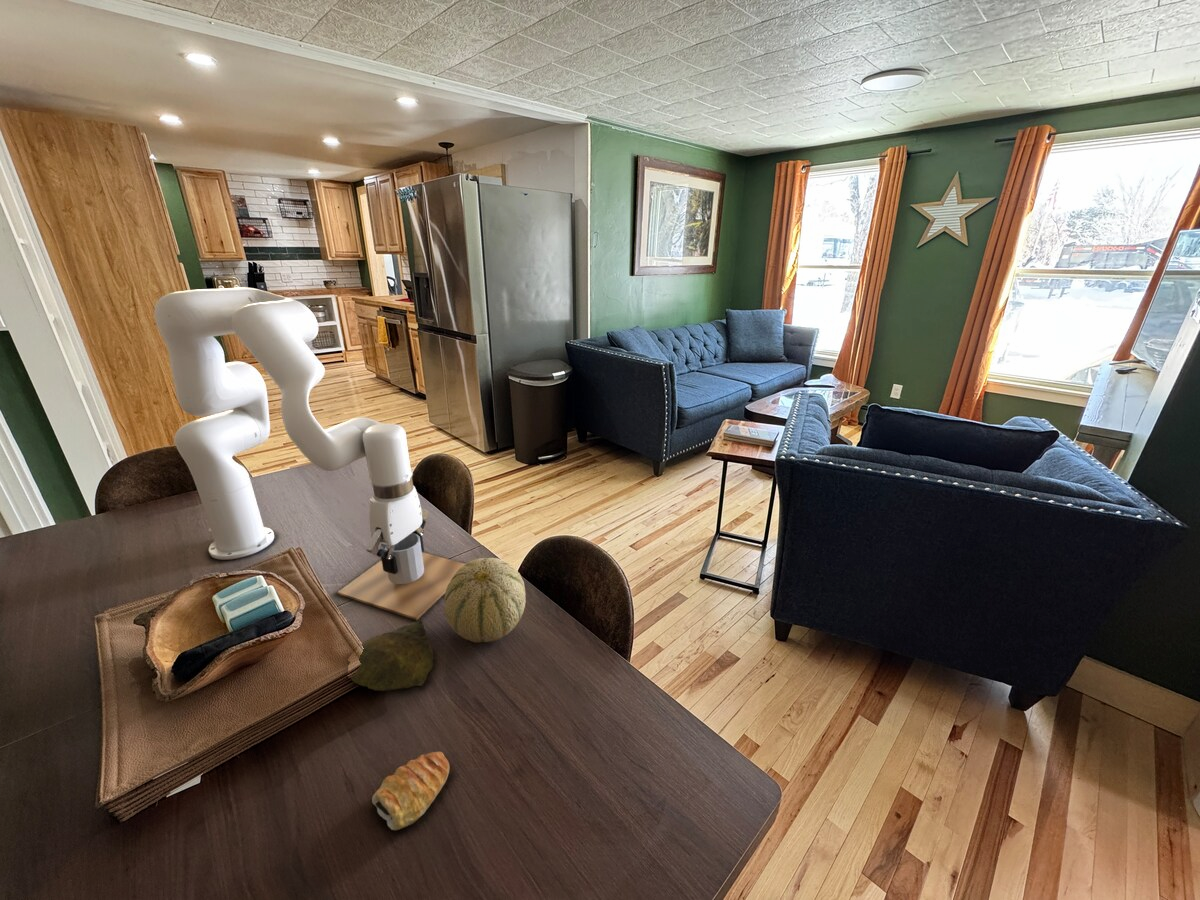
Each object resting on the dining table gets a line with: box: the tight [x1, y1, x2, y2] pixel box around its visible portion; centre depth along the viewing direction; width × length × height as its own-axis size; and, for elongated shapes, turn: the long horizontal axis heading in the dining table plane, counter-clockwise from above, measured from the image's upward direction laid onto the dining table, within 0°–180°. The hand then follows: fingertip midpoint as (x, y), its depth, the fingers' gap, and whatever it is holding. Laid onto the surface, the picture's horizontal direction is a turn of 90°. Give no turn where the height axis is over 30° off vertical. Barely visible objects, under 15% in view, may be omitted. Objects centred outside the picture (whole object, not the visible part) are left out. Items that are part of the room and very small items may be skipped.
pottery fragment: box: [350, 619, 435, 692], centre depth 80 cm, size 13×14×4 cm
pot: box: [384, 533, 424, 584], centre depth 99 cm, size 7×7×8 cm
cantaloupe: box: [443, 557, 527, 643], centre depth 86 cm, size 15×15×15 cm
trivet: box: [337, 552, 466, 621], centre depth 101 cm, size 20×18×1 cm
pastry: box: [371, 751, 451, 831], centre depth 61 cm, size 9×7×4 cm
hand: (404, 560), depth 100 cm, fingers closed on pot, 7 cm apart
